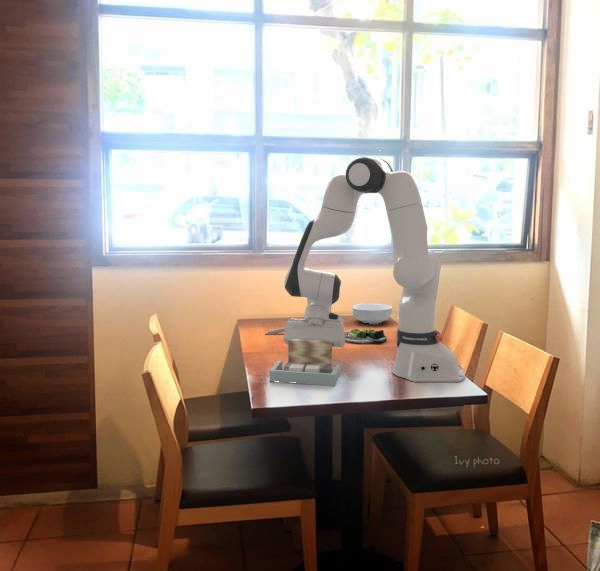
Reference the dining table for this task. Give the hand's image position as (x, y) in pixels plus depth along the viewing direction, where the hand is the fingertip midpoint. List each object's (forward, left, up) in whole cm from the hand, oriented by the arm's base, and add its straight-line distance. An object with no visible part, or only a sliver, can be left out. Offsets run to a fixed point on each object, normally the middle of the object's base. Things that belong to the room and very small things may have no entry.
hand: (311, 355), depth 209 cm
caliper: (+17, -47, -5) cm, 50 cm away
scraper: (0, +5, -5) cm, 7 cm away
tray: (0, +10, -4) cm, 11 cm away
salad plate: (-13, -44, -5) cm, 46 cm away
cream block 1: (+3, +11, -4) cm, 12 cm away
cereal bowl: (-13, -74, -5) cm, 75 cm away
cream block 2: (-2, +11, -4) cm, 12 cm away
